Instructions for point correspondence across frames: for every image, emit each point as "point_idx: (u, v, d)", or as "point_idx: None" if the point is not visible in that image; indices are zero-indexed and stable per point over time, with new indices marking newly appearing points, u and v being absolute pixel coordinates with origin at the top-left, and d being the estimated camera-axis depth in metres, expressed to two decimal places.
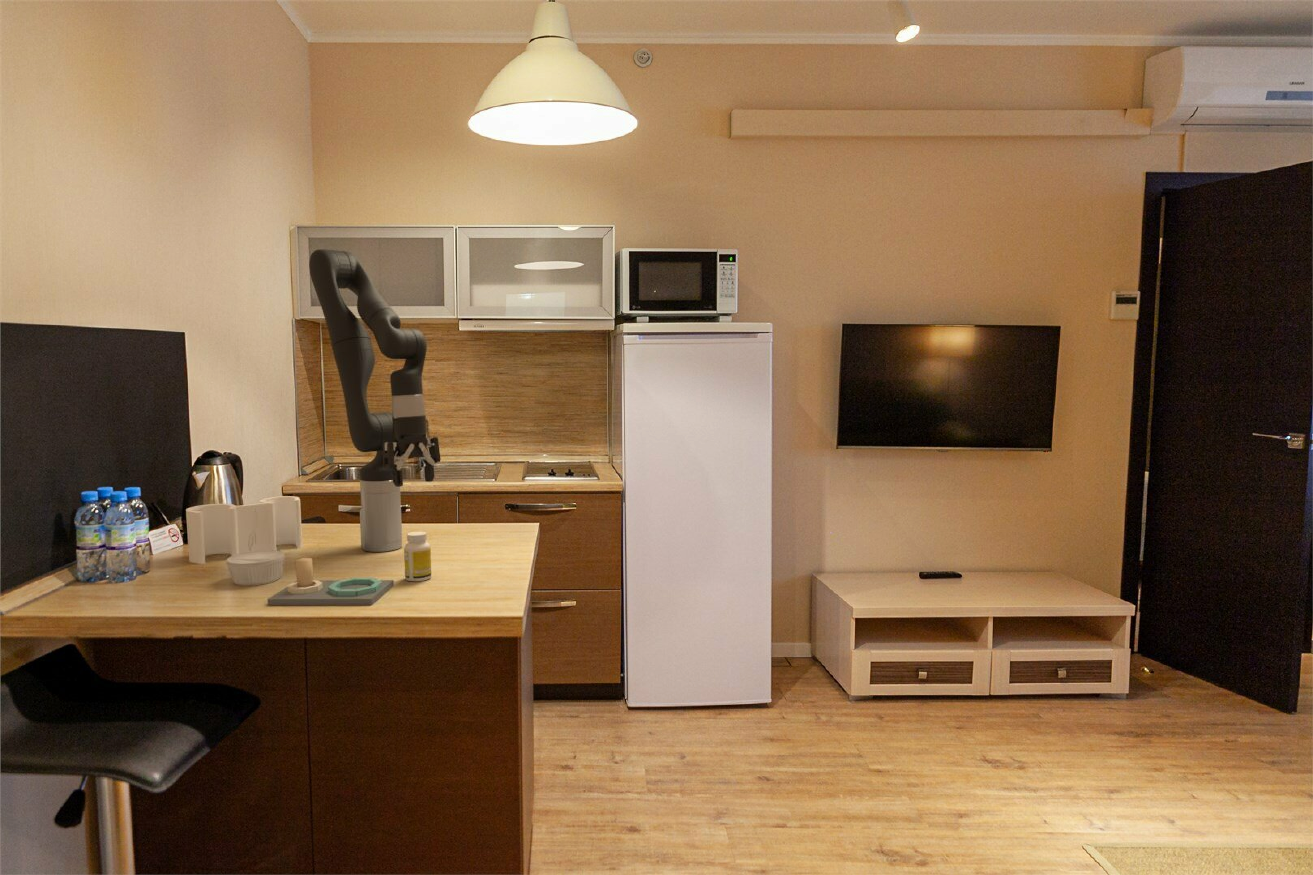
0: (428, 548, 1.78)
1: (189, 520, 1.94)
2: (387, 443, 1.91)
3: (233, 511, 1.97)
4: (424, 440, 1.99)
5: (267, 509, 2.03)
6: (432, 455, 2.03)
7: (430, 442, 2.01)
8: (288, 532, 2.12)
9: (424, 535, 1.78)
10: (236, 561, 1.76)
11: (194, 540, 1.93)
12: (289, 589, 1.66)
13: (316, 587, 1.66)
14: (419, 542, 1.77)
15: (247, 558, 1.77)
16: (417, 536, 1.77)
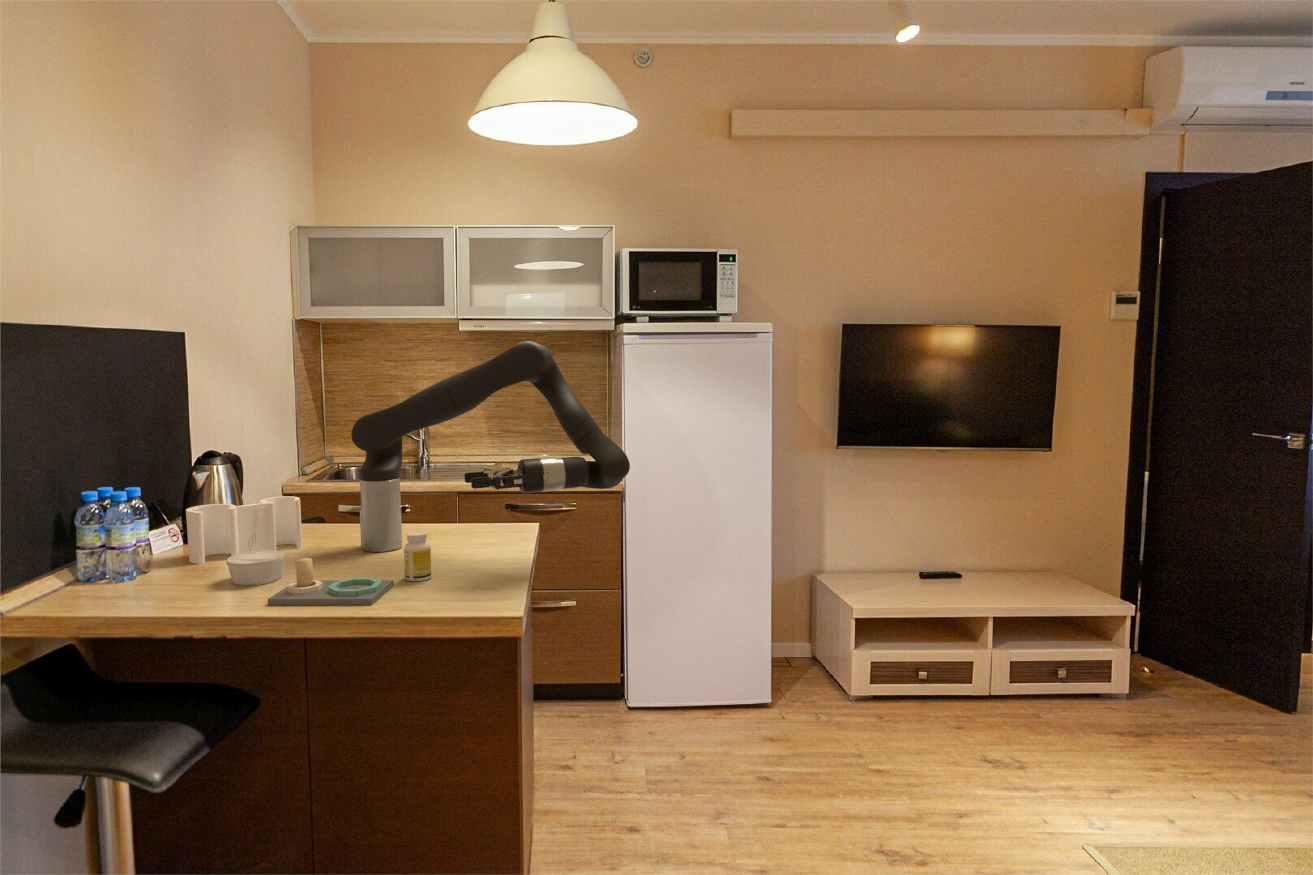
0: (428, 548, 1.78)
1: (189, 520, 1.93)
2: (521, 483, 1.79)
3: (233, 511, 1.96)
4: None
5: (267, 509, 2.03)
6: (490, 471, 1.90)
7: None
8: (288, 532, 2.12)
9: (424, 535, 1.78)
10: (236, 561, 1.76)
11: (194, 540, 1.93)
12: (289, 589, 1.66)
13: (316, 587, 1.66)
14: (419, 542, 1.77)
15: (247, 558, 1.77)
16: (417, 536, 1.77)
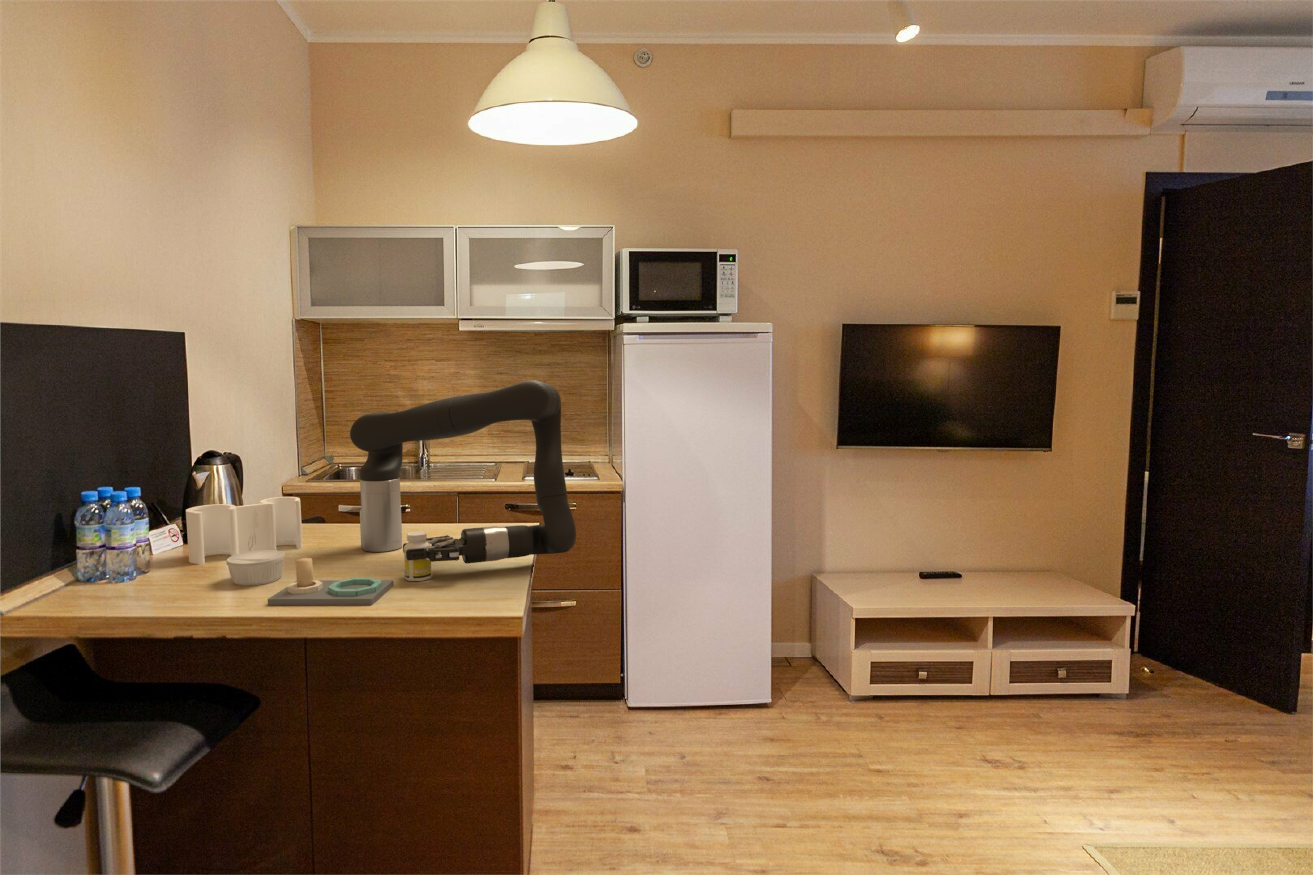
0: None
1: (188, 520, 1.93)
2: (457, 556, 1.76)
3: (233, 512, 1.96)
4: None
5: (267, 510, 2.02)
6: None
7: None
8: (288, 533, 2.12)
9: (424, 535, 1.78)
10: (236, 561, 1.76)
11: (194, 541, 1.93)
12: (289, 589, 1.66)
13: (316, 587, 1.66)
14: (419, 542, 1.77)
15: (247, 558, 1.77)
16: (417, 536, 1.77)
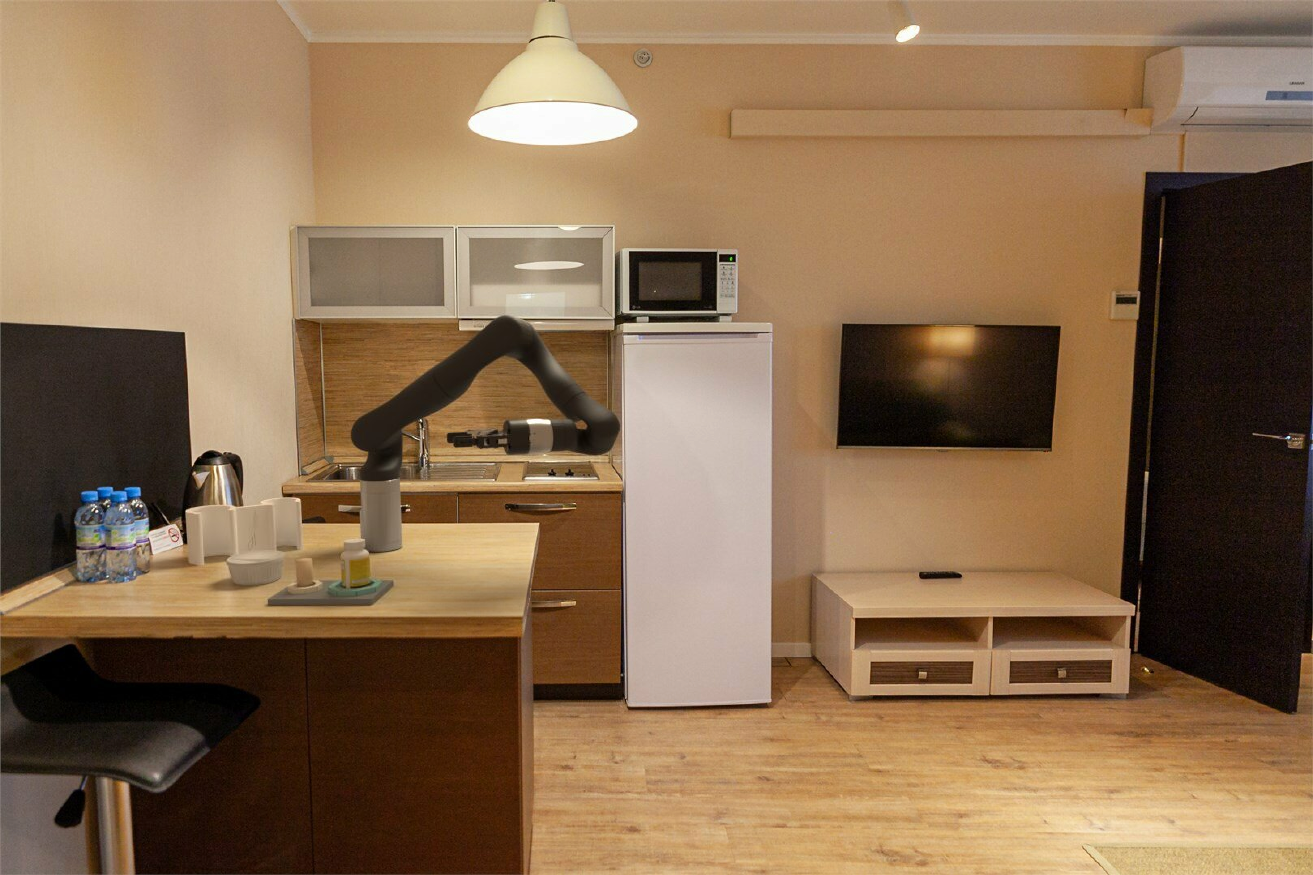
0: (366, 556, 1.67)
1: (188, 521, 1.92)
2: (506, 443, 1.71)
3: (232, 512, 1.95)
4: None
5: (267, 510, 2.01)
6: None
7: None
8: (289, 534, 2.10)
9: (362, 542, 1.66)
10: (236, 561, 1.76)
11: (193, 541, 1.92)
12: (289, 589, 1.66)
13: (316, 587, 1.66)
14: (357, 550, 1.66)
15: (247, 558, 1.77)
16: (355, 543, 1.65)
